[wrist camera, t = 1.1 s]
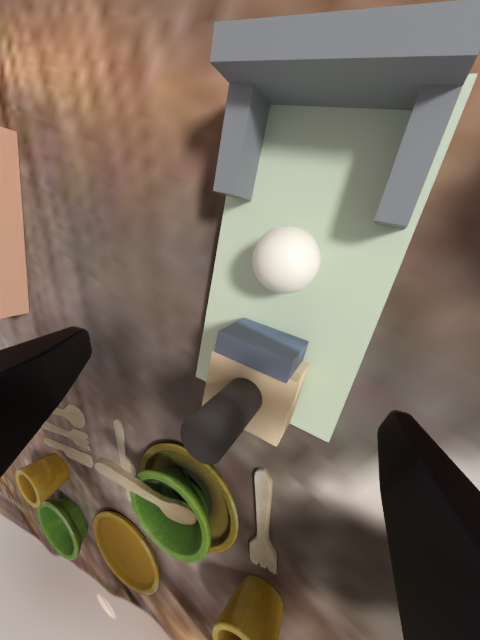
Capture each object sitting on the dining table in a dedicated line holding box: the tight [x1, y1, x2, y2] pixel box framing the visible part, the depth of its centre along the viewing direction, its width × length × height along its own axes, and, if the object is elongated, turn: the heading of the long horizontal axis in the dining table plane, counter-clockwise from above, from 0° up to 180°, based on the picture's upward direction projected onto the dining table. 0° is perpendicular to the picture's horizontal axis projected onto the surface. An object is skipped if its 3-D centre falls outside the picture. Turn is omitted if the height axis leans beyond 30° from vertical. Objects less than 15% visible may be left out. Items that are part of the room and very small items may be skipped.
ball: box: [252, 225, 321, 294], centre depth 16 cm, size 4×4×4 cm
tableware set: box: [15, 404, 283, 640], centre depth 34 cm, size 41×28×6 cm
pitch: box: [196, 0, 480, 443], centre depth 17 cm, size 22×12×6 cm, turn 167°
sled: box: [180, 318, 310, 465], centre depth 17 cm, size 6×6×8 cm
